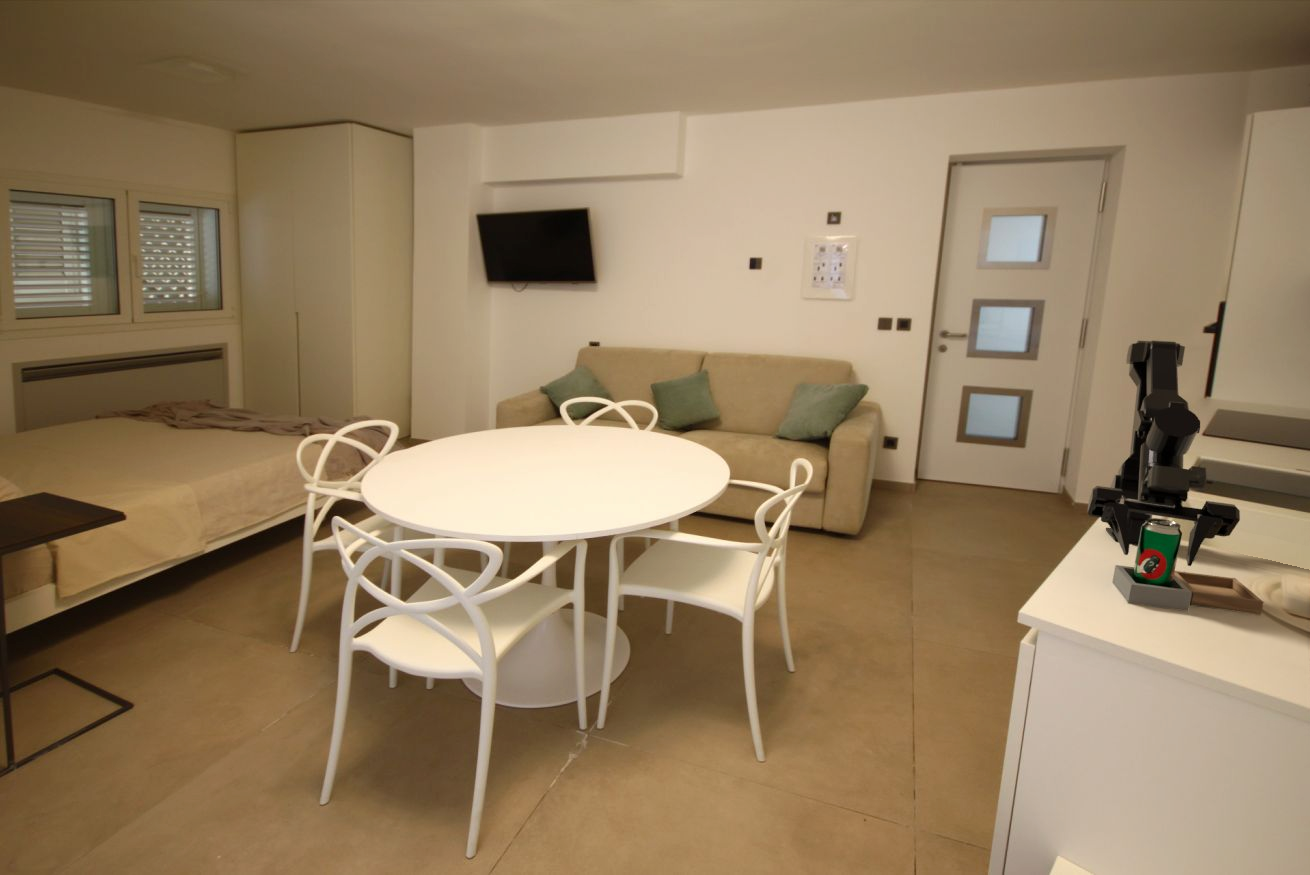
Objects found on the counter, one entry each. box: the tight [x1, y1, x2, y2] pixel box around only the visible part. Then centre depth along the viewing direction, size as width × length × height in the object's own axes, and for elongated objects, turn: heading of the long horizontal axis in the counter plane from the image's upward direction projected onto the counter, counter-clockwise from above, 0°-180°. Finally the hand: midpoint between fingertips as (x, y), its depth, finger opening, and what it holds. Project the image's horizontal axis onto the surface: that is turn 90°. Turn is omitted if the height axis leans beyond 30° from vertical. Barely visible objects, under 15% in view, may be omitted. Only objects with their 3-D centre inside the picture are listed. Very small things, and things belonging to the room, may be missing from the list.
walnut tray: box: [1174, 570, 1265, 615], centre depth 110 cm, size 9×9×2 cm
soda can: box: [1132, 517, 1183, 588], centre depth 108 cm, size 5×5×12 cm
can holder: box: [1111, 564, 1192, 612], centre depth 110 cm, size 8×8×3 cm
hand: (1157, 559), depth 107 cm, fingers open, 8 cm apart
